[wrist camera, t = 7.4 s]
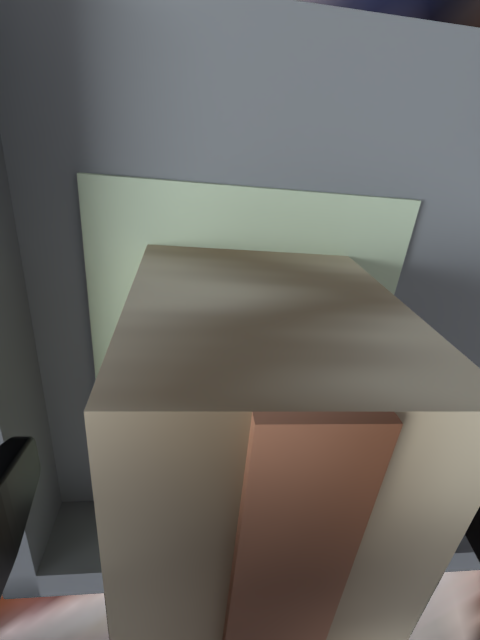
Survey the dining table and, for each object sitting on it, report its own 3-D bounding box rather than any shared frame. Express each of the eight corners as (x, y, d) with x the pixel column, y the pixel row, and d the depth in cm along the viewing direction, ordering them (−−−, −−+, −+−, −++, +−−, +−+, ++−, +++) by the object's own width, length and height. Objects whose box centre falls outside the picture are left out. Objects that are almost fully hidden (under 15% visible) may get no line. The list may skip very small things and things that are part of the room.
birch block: (348, 255, 10) (544, 423, 4) (303, 458, 13) (385, 705, 7) (147, 244, 9) (78, 425, 4) (151, 460, 12) (116, 734, 7)
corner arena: (473, 493, 16) (529, 566, 13) (40, 507, 14) (3, 599, 11) (693, 67, 9) (889, 45, 7) (-73, -45, 7) (-231, -145, 4)
